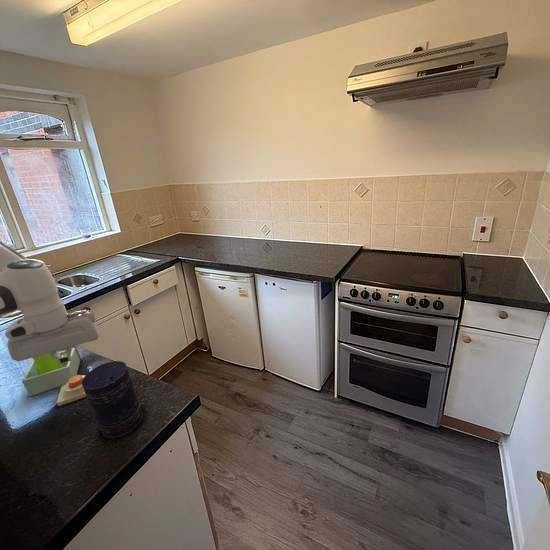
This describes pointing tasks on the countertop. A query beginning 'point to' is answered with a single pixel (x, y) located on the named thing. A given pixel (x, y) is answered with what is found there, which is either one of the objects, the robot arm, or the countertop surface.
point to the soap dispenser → (46, 363)
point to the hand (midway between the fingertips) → (65, 361)
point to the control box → (70, 394)
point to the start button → (75, 381)
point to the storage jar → (113, 398)
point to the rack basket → (50, 375)
